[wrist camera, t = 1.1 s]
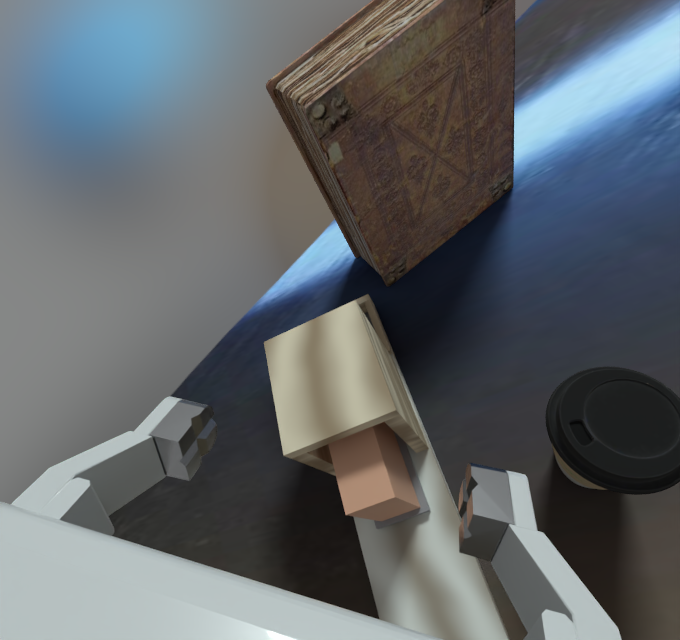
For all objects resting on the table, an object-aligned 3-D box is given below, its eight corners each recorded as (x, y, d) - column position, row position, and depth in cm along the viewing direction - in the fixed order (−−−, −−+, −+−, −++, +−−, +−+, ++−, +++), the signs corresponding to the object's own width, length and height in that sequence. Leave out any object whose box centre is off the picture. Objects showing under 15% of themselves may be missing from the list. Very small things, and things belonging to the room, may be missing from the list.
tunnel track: (374, 304, 58) (330, 227, 44) (529, 686, 33) (543, 791, 19) (310, 333, 60) (249, 268, 46) (411, 718, 35) (345, 834, 21)
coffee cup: (517, 457, 42) (520, 421, 30) (573, 395, 43) (598, 336, 31) (604, 531, 36) (652, 524, 24) (667, 458, 37) (742, 417, 25)
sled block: (392, 407, 47) (362, 372, 38) (430, 510, 40) (405, 500, 31) (349, 425, 48) (309, 395, 39) (378, 529, 41) (339, 524, 32)
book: (386, 288, 59) (301, 111, 35) (355, 257, 64) (261, 85, 40) (514, 187, 59) (516, -58, 35) (471, 164, 65) (448, -61, 41)
